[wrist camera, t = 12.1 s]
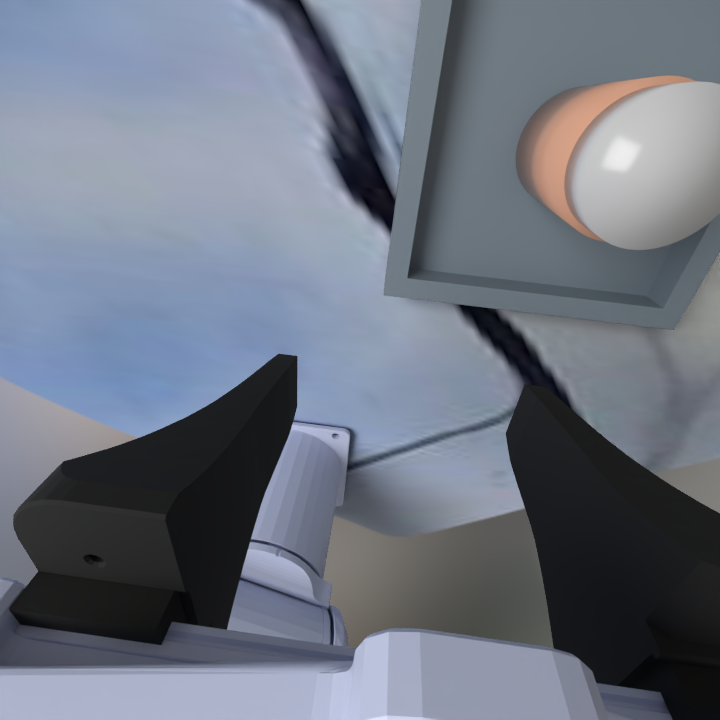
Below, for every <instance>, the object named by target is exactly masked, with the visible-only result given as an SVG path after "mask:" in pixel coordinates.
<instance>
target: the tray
mask: <svg viewBox="0 0 720 720" xmlns="http://www.w3.org/2000/svg"><path fill="white" fill-rule="evenodd" d="M667 75H669V76H681V77H686V78H690V79H692V80H695V81H697V82H698V81H699V82H712V83H716V84H720V0H422V1H421V9H420V17H419V24H418V32H417V40H416V47H415V55H414V63H413V70H412V78H411V86H410V93H409V101H408V109H407V116H406V124H405V132H404V139H403V147H402V155H401V162H400V170H399V178H398V185H397V193H396V201H395V208H394V216H393V224H392V231H391V239H390V247H389V254H388V262H387V270H386V277H385V287H384V295H385V296H393V297H402V298H410V299H418V300H427V301H435V302H444V303H452V304H460V305H469V306H477V307H485V308H494V309H502V310H510V311H519V312H527V313H535V314H544V315H552V316H561V317H569V318H577V319H586V320H594V321H602V322H611V323H619V324H627V325H636V326H644V327H653V328H661V329H669V330H674V329H675V327H676V325H677V324H678V322H679V320H680V319H681V317H682V315H683V314H684V312H685V310H686V308H687V307H688V305H689V303H690V302H691V300H692V298H693V296H694V295H695V293H696V291H697V290H698V288H699V286H700V284H701V283H702V281H703V279H704V278H705V276H706V274H707V272H708V271H709V269H710V267H711V266H712V264H713V262H714V260H715V259H716V257H717V255H718V254H719V252H720V214H719V215H718V216H716V217H715V218H714V219H713V220H712V221H711V222H709V223H708V224H707V225H705V226H704V227H703V228H701V229H700V230H698V231H697V232H695V233H693V234H692V235H690V236H688V237H686V238H684V239H682V240H680V241H678V242H675V243H672V244H670V245H667V246H663V247H659V248H654V249H648V250H631V249H624V248H620V247H617V246H614V245H611V244H609V243H608V242H604V241H599V240H595V239H592V238H590V237H587V236H585V235H584V234H582V233H580V232H579V231H577V230H576V229H575V228H573V227H572V226H571V225H569V224H568V223H567V222H565V221H564V220H563V219H561V218H560V217H559V216H557V215H556V214H555V213H553V212H552V211H551V210H549V209H548V208H547V207H545V206H544V205H543V204H541V203H540V202H539V201H538V200H536V199H535V198H534V197H532V196H531V195H530V194H529V193H528V192H527V191H526V190H525V189H524V187H523V186H522V184H521V182H520V180H519V178H518V175H517V171H516V150H517V145H518V141H519V139H520V136H521V133H522V131H523V129H524V127H525V125H526V124H527V122H528V121H529V119H530V118H531V116H532V115H533V114H534V113H535V112H536V110H537V109H538V108H539V107H540V106H541V105H543V104H544V103H545V102H546V101H547V100H549V99H550V98H552V97H553V96H555V95H557V94H559V93H560V92H562V91H565V90H568V89H571V88H575V87H580V86H588V85H595V84H603V83H610V82H618V81H626V80H633V79H641V78H649V77H656V76H667Z"/></svg>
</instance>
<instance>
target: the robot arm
mask: <svg viewBox="0 0 720 720" xmlns="http://www.w3.org/2000/svg"><path fill="white" fill-rule="evenodd" d="M296 408H297V356H292V355H284V354H278V355H276V356H275V357H274V358H272V359H271V360H270V361H269V362H267V363H266V364H265V365H264V366H262V367H261V368H260V369H259V370H257V371H256V372H255V373H254V374H252V375H251V376H250V377H248V378H247V379H246V380H245V381H243V382H242V383H241V384H239V385H238V386H237V387H235V388H234V389H232V390H231V391H229V392H228V393H226V394H225V395H223V396H222V397H220V398H219V399H218V400H216V401H214V402H213V403H211V404H209V405H208V406H206V407H204V408H202V409H201V410H199V411H197V412H195V413H193V414H191V415H190V416H188V417H186V418H184V419H182V420H179V421H177V422H175V423H173V424H171V425H168V426H166V427H164V428H162V429H160V430H157V431H155V432H153V433H150V434H148V435H145V436H143V437H140V438H138V439H135V440H132V441H129V442H126V443H124V444H121V445H118V446H115V447H112V448H109V449H106V450H102V451H99V452H95V453H92V454H88V455H85V456H82V457H78V458H75V459H71V460H67V461H64V462H63V463H62V464H61V465H60V466H58V467H57V469H56V470H55V471H54V472H53V473H52V474H51V475H50V476H49V477H48V478H47V479H46V480H45V481H44V482H43V483H42V484H41V485H40V486H39V487H38V488H37V489H36V490H35V491H34V492H33V493H32V494H31V495H30V496H29V497H28V499H27V500H25V502H24V503H23V504H22V505H21V506H20V507H19V508H18V510H17V511H16V512H15V514H14V519H13V520H14V521H13V526H14V530H15V532H16V534H17V537H18V539H19V540H20V542H21V544H22V545H23V547H24V548H25V550H26V552H27V553H28V555H29V557H30V558H31V560H32V561H33V563H34V565H35V566H36V568H37V569H38V573H37V574H36V575H35V576H34V578H33V579H32V580H31V581H30V583H29V584H28V585H27V586H25V585H24V584H22V583H20V582H18V581H16V580H12V579H8V578H2V577H0V720H720V513H718V512H716V511H714V510H712V509H710V508H709V507H707V506H705V505H703V504H701V503H700V502H698V501H696V500H695V499H693V498H691V497H690V496H688V495H686V494H685V493H683V492H681V491H680V490H678V489H676V488H675V487H673V486H671V485H670V484H668V483H667V482H665V481H664V480H662V479H660V478H659V477H658V476H656V475H655V474H653V473H652V472H650V471H649V470H647V469H646V468H644V467H643V466H641V465H640V464H638V463H637V462H636V461H634V460H633V459H632V458H630V457H629V456H627V455H626V454H625V453H624V452H622V451H621V450H620V449H618V448H617V447H616V446H615V445H613V444H612V443H611V442H609V441H608V440H607V439H606V438H604V437H603V436H602V435H601V434H600V433H598V432H597V431H596V430H595V429H594V428H592V427H591V426H590V425H589V424H588V423H587V422H585V421H584V420H583V419H582V418H581V417H580V416H578V415H577V414H576V413H575V412H574V411H573V410H572V409H570V408H569V407H568V406H567V405H566V404H565V403H564V402H562V401H561V400H560V399H559V398H558V397H557V396H555V395H554V394H553V393H552V392H551V391H549V390H548V389H547V388H545V387H541V386H533V385H524V388H523V390H522V393H521V396H520V398H519V401H518V403H517V406H516V409H515V411H514V414H513V416H512V419H511V421H510V424H509V427H508V429H507V432H506V437H507V444H508V450H509V456H510V461H511V465H512V468H513V471H514V475H515V478H516V481H517V484H518V487H519V490H520V493H521V497H522V500H523V503H524V506H525V509H526V512H527V515H528V518H529V521H530V524H531V527H532V531H533V535H534V539H535V543H536V548H537V552H538V557H539V562H540V567H541V572H542V577H543V583H544V589H545V594H546V599H547V605H548V612H549V619H550V626H551V632H552V639H553V646H554V649H553V648H550V647H545V646H538V645H531V644H524V643H517V642H510V641H503V640H496V639H489V638H482V637H475V636H468V635H461V634H454V633H447V632H440V631H433V630H426V629H419V628H390V629H386V630H383V631H380V632H376V633H373V634H370V635H369V636H368V637H367V638H366V639H365V640H364V641H363V642H362V643H361V644H360V645H359V647H358V648H350V647H348V636H347V630H346V627H345V625H344V620H343V617H342V614H341V612H340V610H339V609H338V608H336V607H334V606H330V605H329V603H330V597H331V589H332V584H331V583H329V582H326V581H324V580H323V575H324V570H325V564H326V558H327V552H328V546H329V540H330V534H331V528H332V522H333V516H334V510H335V507H340V506H342V505H343V501H344V492H345V482H346V473H347V463H348V454H349V444H350V432H349V430H347V429H344V428H337V427H330V426H322V425H314V424H306V423H299V422H293V420H294V416H295V412H296ZM334 433H336V434H338V435H334Z"/></svg>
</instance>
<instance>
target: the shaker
mask: <svg viewBox="0 0 720 720" xmlns="http://www.w3.org/2000/svg"><path fill="white" fill-rule="evenodd" d="M516 171H517V175H518V178H519V180H520V182H521V184H522V186H523V187H524V189H525V190H526V191H527V192H528V193H529V194H530V195H531V196H532V197H534V198H535V199H536V200H538V201H539V202H540V203H541V204H543V205H544V206H545V207H547V208H548V209H549V210H551V211H552V212H553V213H555V214H556V215H557V216H559V217H560V218H561V219H563V220H564V221H565V222H567V223H568V224H569V225H571V226H572V227H573V228H575V229H576V230H577V231H579V232H580V233H582V234H584V235H585V236H587V237H590V238H592V239H595V240H599V241H604V242H608V243H609V244H611V245H614V246H617V247H620V248H624V249H631V250H648V249H654V248H659V247H663V246H667V245H670V244H672V243H675V242H678V241H680V240H682V239H684V238H686V237H688V236H690V235H692V234H693V233H695V232H697V231H698V230H700V229H701V228H703V227H704V226H705V225H707V224H708V223H709V222H711V221H712V220H713V219H714V218H715V217H716V216H718V215H719V214H720V84H716V83H712V82H699V81H698V82H697V81H695V80H692V79H690V78H686V77H681V76H669V75H667V76H656V77H649V78H641V79H633V80H626V81H618V82H610V83H603V84H595V85H588V86H580V87H575V88H571V89H568V90H565V91H562V92H560V93H559V94H557V95H555V96H553V97H552V98H550V99H549V100H547V101H546V102H545V103H544V104H543V105H541V106H540V107H539V108H538V109H537V110H536V112H535V113H534V114H533V115H532V116H531V118H530V119H529V121H528V122H527V124H526V125H525V127H524V129H523V131H522V133H521V136H520V139H519V141H518V145H517V150H516Z"/></svg>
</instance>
